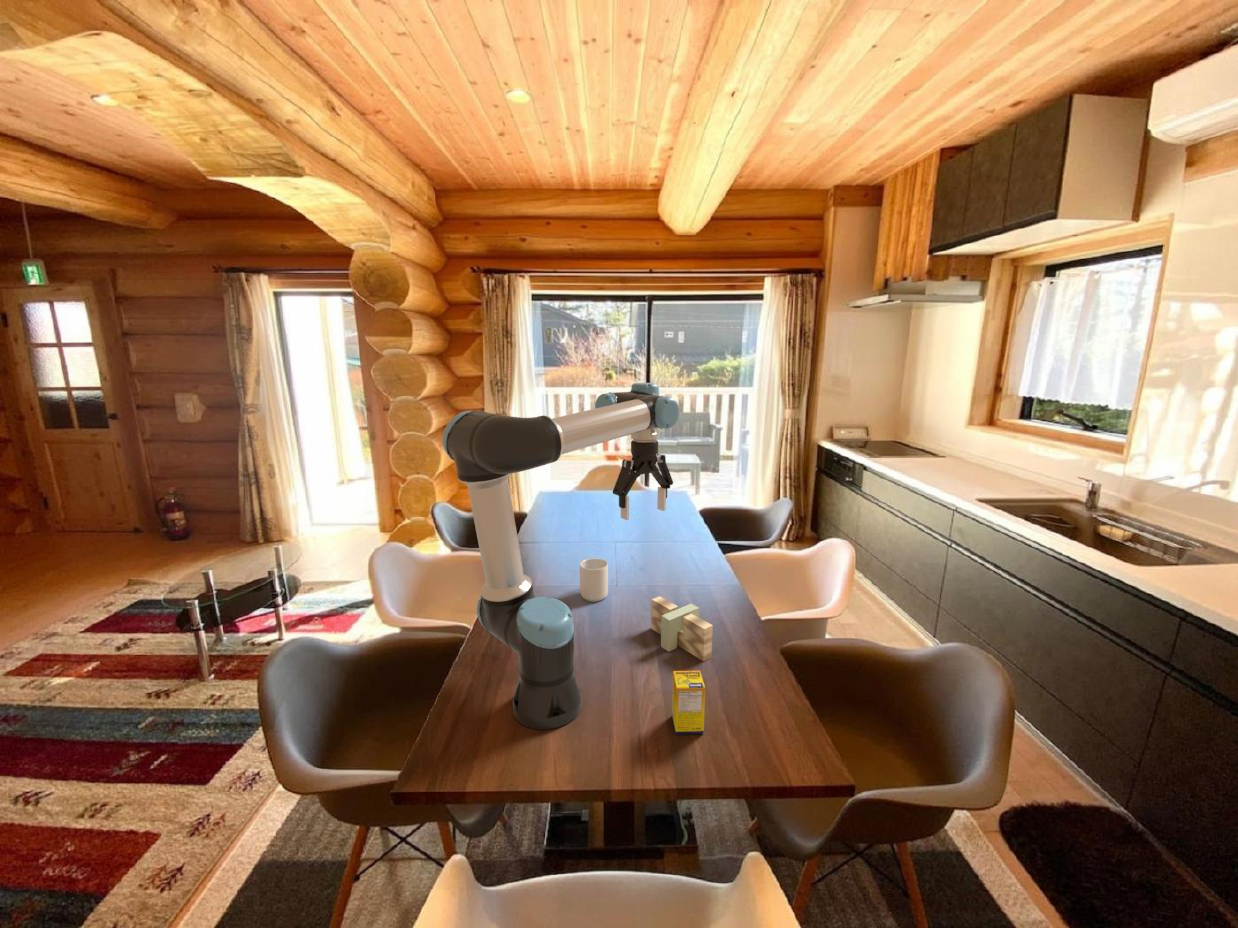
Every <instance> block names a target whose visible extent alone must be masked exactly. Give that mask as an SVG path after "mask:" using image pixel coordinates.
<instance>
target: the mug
mask: <svg viewBox="0 0 1238 928" xmlns="http://www.w3.org/2000/svg"><path fill="white" fill-rule="evenodd" d="M579 585H580V586H579V587H580V588H579V589H580V590H579V591H580V592H579V593H580V596H581V598H583V600H585V601H588V602H591V603H593V602H595V603H597V602H600V601H602V600H605V598H607V596H608V594H609V562H608V561H607V560H604V559H602V558H586V559H584V560H582V561H580V564H579Z"/></svg>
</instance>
